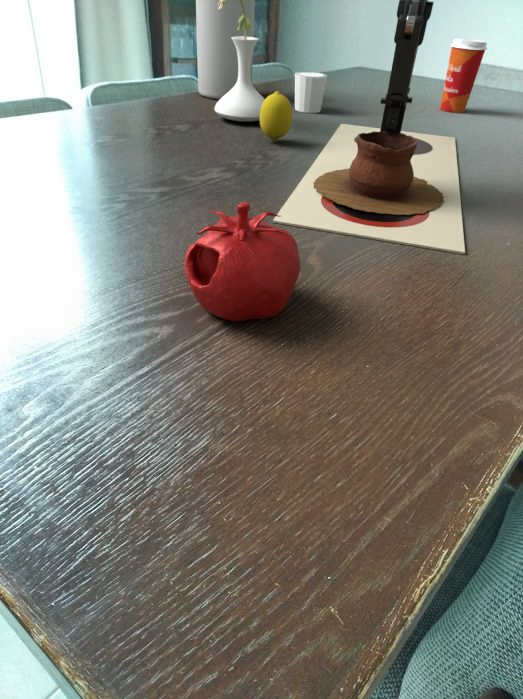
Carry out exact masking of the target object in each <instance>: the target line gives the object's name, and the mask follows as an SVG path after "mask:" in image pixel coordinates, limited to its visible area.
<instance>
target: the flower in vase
mask: <svg viewBox="0 0 523 699" xmlns="http://www.w3.org/2000/svg"><path fill="white" fill-rule="evenodd" d="M226 1H227V0H220V2H219V4H218V6H219V5H220V4H221V5H220V7H219V8H218V10H219V9H220V10H221V9H222V8H223V6H224V5H225V3H226ZM240 3H241V6H242V9H243V15H242V16H241V17H240V18H239V20H238V23H239V27H238V29H237V32H239V31H240V30H241V28H243V29H244V37H243V36H236V37H231V38H232V40H233V42H234V44H235V46H236V49H237V55H238V68H239V71H238V80H237V83H236V85H235V86H234V87H233V88H232V89H231V90H230V91H229V92H228V93H227V94H225V95H224V96H223V97H222V98H221V99H220V100H217V102H216V103H215V105H214V112H215V113H216V115H217V116H220V117H221V118H223V119H226V120H230V121H234V122H243V123H244V122H245V123H246V122H247V123H248V122H260V110H261V107H262V104H263V102H264V100H265V99H266V98H264V96H262V95H261V94H260V93H259V91H257V89H256V88H255V87H254V86H253V82H252V83H251V79H250V65H251V57H252V53H253V54H254V50H255V47H256V45H257V43H258V42H259V40H260V38H258V37H255V36H254V37H246V30H248V29H250V28H251V27H252V25H251V23H250V21H249V20H248V18H247V16H246V14H245V9H244V6H243V2H242V0H240Z"/></svg>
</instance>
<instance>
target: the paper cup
mask: <svg viewBox="0 0 523 699" xmlns="http://www.w3.org/2000/svg"><path fill="white" fill-rule="evenodd" d="M487 44H488V42H487V41H486V40H482V39H481V40H480V39H472V38H471V39H470V38H454V40H453V42H452V43H451V44H450V47H451V49H450V54H449V59H448V63H447V64H448V65H447V69H446V74H445V79H444V86H443V90H442V94H441V95H442V96H441V101H440V107H439V109H440V110H441V111H443V112H446V113H453V114H454V113H456V114H461V113H465V111H466V108H467V106H468V103H469V100H470V97H471V94H472V90H473V88H474V84H475V82H476V79H477V75H478V72H479V71H480V67H481V64H482V61H483V58H484V54H485V52H486V50H488V47H487Z"/></svg>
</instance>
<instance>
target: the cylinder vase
mask: <svg viewBox="0 0 523 699" xmlns="http://www.w3.org/2000/svg"><path fill="white" fill-rule="evenodd" d="M219 2H220V0H195V15H196V16H195V18H196V19H195V20H196V21H195V22H196V23H195V24H196V57H197V58H196V59H197V60H196V61H197V63H196V64H197V91H198V94H199V95H200V96H202V97H204V98H207V99H212V100H217V101H219V100H220V99H221V98H222V97H223V96H224V95H225V94H227V93H228V92H229V91H230V90H231V89H232V88H233V87H234V86H235V85H236V83H237V80H238V71H239V68H238V55H237V49H236V46H235V44H234V42H233V40H232V38H231V37H236V36H243V37H244V29H243V28H241V30H240V31H239V32H237V29H238V27H239V23H238V20H239V18H240V17H241V16H242V15H243V9H242V6H241V3H240V0H227V1H226V3H225V5H224V6H223V8H222V9H221V10H220V9H219V10H218V8H219V7H220V5H221V4H220V5H219V6H218V4H219ZM242 2H243V6H244V9H245V14H246V16H247V18H248V20H249V21H250V23H251V25H252V27H251V28H250V29H248V30H246V37H254V38H255V36H254V34H255V8H256V0H242ZM253 64H254V52H253V53H252V57H251V65H250V79H251V83H252V84H253V70H254V69H253V67H254V65H253Z"/></svg>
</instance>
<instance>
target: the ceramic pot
mask: <svg viewBox="0 0 523 699" xmlns="http://www.w3.org/2000/svg"><path fill="white" fill-rule="evenodd" d="M356 143H357V146H358V152H357V155H356V157H355V159H354V160H353V161H352V164H351V166H350V168H349V169H342V170H336V171H332V172H328V173H324V175H322V176H319V177H318V178H317V179H316V181H315V182H314V187H316V188H315V189H317V190H316V192H319V193H320V194H322V196H324V197H326V198H327V199H331V200H332V201H334V202H336V203H337V204H342V205H346V206H348V207H351V208H353V209H358V210H363V211H367V212H376V213H387V214H393V215H396V214H398V215H403V214H405V215H410V214H417V213H420V214H422V213H426V212H427V211H429V210H432V209H436V208H437V206H438V207H440V206H441V204H443V203H442V202H444V200H443V198H444V196H443V193H441V192H440V191H439V190H438V189H437V188H435V187H434V186H432V185H429V184H427V183H428V182H427V181H425V180H424V179H419V178H417V177H414V173H413V168H412V165H411V158H412V156H413V155H414V151H415V149H416V146H417V140H416V139H415V138H414V137H412V136H407V135H405V134H404V133H392V132H382V131H380V132H375V131H373V132H371V133H361V134H358V135H357V137H356Z"/></svg>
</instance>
